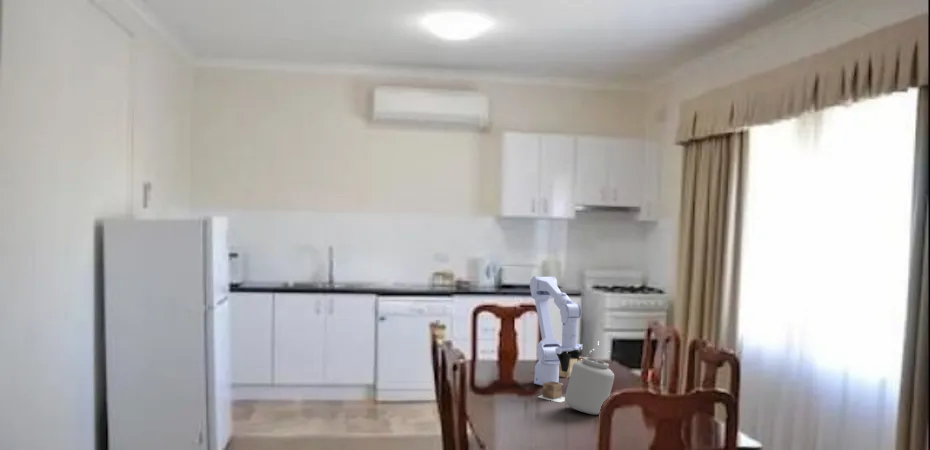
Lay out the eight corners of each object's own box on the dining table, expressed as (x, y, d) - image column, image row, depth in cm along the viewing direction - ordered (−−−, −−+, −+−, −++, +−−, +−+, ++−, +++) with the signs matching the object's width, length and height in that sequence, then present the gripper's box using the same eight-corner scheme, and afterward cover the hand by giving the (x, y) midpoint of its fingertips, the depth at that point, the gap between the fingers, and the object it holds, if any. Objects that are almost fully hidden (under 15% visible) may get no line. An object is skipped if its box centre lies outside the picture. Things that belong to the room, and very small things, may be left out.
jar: (611, 406, 269) (614, 337, 268) (623, 418, 255) (626, 345, 254) (560, 406, 268) (562, 336, 267) (569, 418, 253) (572, 345, 252)
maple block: (560, 373, 285) (560, 358, 285) (567, 372, 288) (567, 356, 288) (569, 376, 282) (570, 360, 282) (576, 374, 285) (577, 358, 285)
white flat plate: (537, 397, 279) (537, 396, 279) (549, 394, 284) (549, 393, 284) (559, 402, 272) (559, 401, 272) (570, 399, 277) (570, 398, 277)
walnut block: (542, 396, 279) (543, 383, 278) (551, 394, 282) (551, 381, 282) (553, 399, 275) (553, 385, 275) (561, 397, 279) (562, 383, 278)
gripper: (566, 338, 276) (565, 375, 277) (589, 334, 287) (588, 369, 287) (551, 335, 281) (550, 371, 282) (574, 331, 292) (573, 366, 292)
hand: (568, 370), depth 285 cm, fingers closed on maple block, 4 cm apart
